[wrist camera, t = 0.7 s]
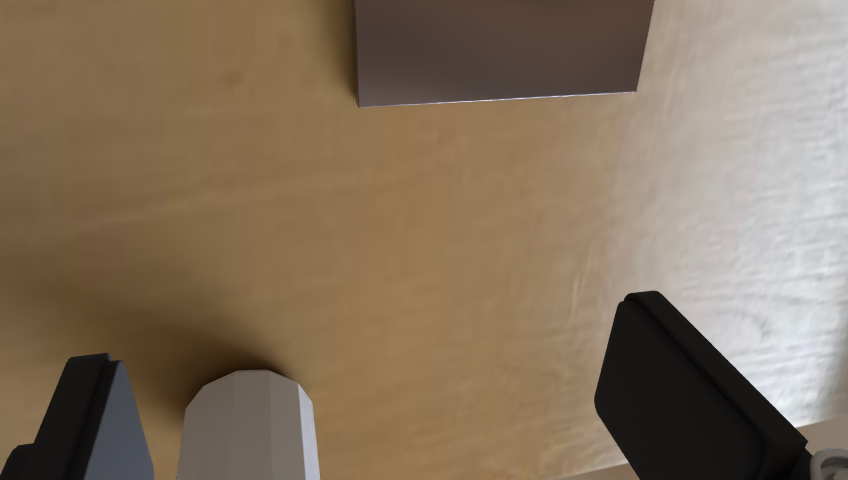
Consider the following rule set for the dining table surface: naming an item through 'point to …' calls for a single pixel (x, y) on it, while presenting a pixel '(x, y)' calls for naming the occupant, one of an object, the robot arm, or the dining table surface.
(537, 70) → the board
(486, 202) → the dining table surface
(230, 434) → the jar
